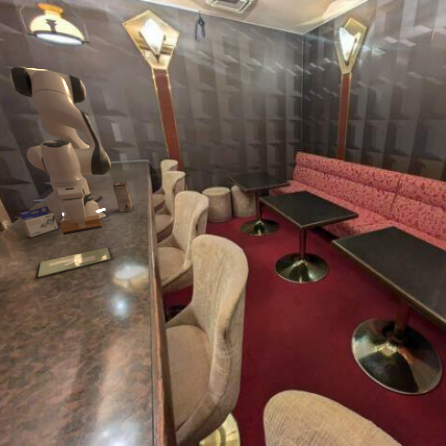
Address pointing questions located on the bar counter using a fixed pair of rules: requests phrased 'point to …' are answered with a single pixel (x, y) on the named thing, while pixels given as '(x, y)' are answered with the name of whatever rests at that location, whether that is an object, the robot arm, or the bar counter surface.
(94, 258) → the chalk board
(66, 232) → the eraser
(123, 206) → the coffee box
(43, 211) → the ink box
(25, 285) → the bar counter surface
